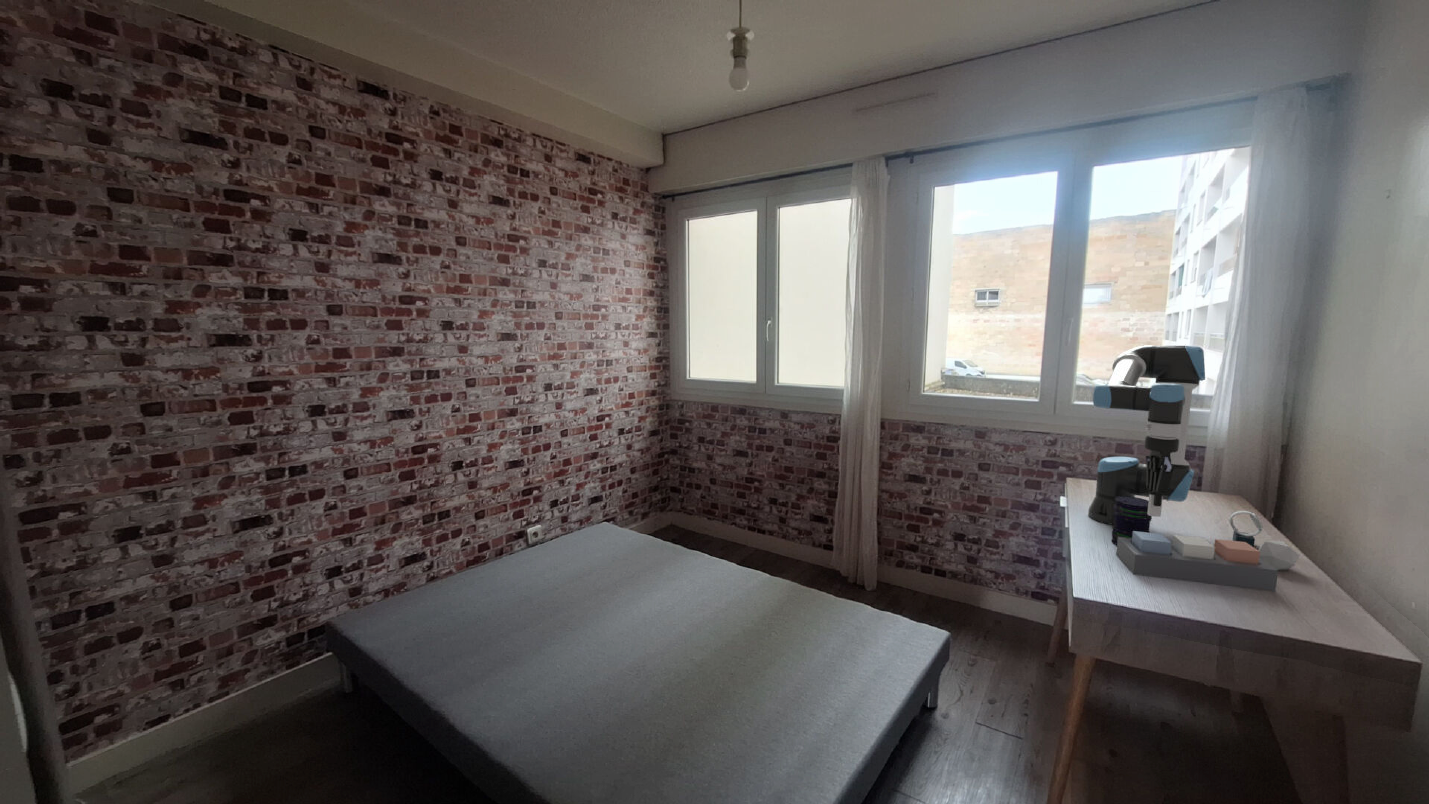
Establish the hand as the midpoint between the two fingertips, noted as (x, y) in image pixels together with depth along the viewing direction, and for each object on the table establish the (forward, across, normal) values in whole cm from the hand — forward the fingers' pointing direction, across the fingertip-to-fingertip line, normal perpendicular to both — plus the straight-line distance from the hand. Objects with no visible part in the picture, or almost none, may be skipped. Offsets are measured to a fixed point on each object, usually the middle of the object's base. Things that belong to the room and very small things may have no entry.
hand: (1153, 515), depth 159 cm
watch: (+16, -30, +36) cm, 50 cm away
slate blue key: (+12, 0, 0) cm, 12 cm away
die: (+16, -12, +35) cm, 40 cm away
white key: (+12, 0, +10) cm, 15 cm away
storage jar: (+16, -18, +1) cm, 25 cm away
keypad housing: (+16, 0, +10) cm, 19 cm away
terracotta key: (+12, 0, +20) cm, 23 cm away
